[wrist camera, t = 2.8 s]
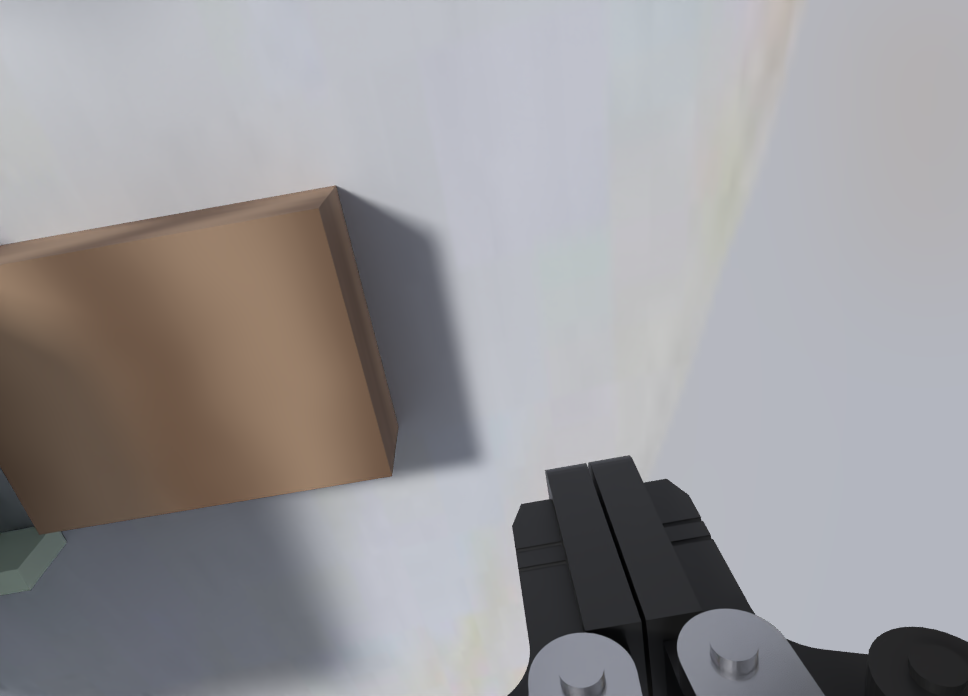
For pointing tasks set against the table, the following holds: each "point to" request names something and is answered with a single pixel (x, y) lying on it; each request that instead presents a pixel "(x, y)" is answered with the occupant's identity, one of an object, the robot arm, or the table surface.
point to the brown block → (189, 363)
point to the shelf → (26, 557)
